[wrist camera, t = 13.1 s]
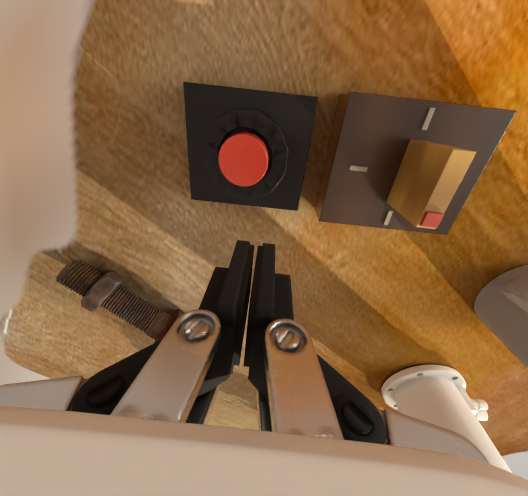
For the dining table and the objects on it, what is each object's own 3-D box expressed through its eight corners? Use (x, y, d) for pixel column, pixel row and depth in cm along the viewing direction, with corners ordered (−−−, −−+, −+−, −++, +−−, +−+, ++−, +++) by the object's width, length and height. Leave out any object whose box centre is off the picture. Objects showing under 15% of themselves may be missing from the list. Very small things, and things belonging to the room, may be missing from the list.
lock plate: (485, 110, 19) (520, 110, 16) (428, 221, 24) (448, 235, 22) (339, 93, 19) (350, 91, 16) (314, 209, 24) (319, 222, 21)
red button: (271, 134, 17) (270, 137, 16) (266, 182, 19) (265, 188, 18) (222, 129, 17) (217, 131, 16) (222, 177, 19) (218, 183, 18)
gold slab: (410, 138, 18) (456, 149, 13) (428, 141, 18) (480, 152, 13) (385, 201, 20) (417, 228, 16) (401, 203, 20) (437, 230, 16)
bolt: (91, 248, 30) (188, 311, 34) (64, 279, 29) (166, 339, 34) (68, 255, 24) (187, 329, 29) (34, 294, 24) (160, 363, 28)
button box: (314, 98, 19) (322, 96, 16) (295, 202, 24) (299, 218, 20) (192, 84, 19) (174, 79, 16) (197, 192, 24) (184, 206, 20)
